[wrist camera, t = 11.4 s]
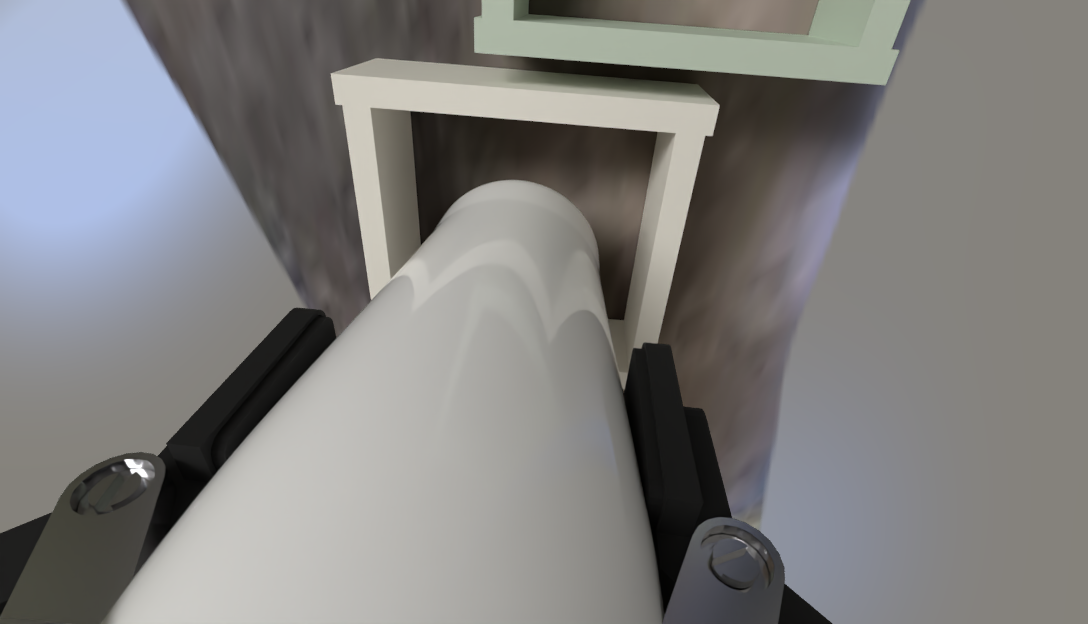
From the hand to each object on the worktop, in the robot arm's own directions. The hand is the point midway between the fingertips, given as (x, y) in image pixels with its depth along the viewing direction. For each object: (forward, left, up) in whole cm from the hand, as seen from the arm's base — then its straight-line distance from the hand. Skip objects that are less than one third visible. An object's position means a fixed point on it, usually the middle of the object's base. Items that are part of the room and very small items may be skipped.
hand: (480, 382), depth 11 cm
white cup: (0, 0, -7) cm, 7 cm away
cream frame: (0, 0, -10) cm, 10 cm away
